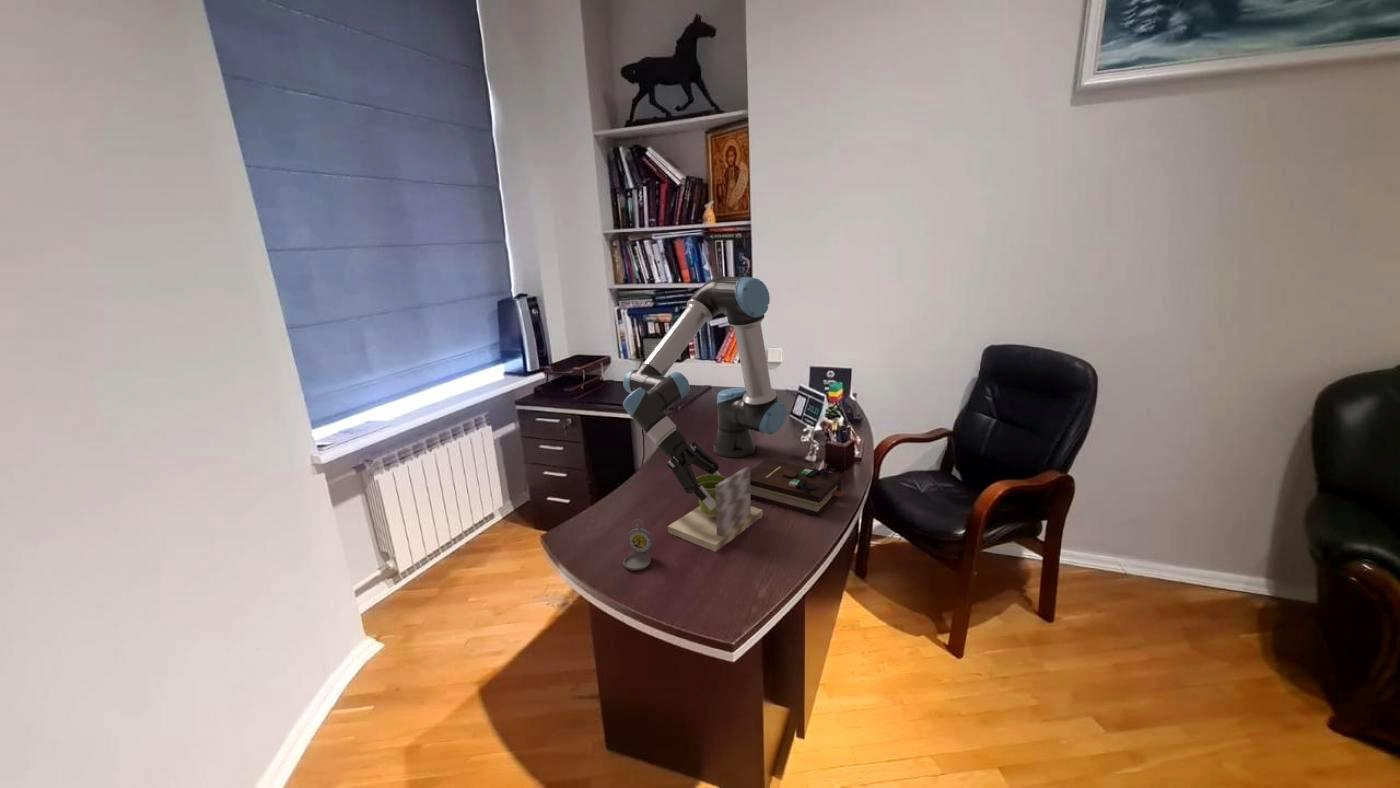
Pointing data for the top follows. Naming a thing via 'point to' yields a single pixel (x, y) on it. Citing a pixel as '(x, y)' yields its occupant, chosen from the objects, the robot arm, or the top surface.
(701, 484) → the plant pot
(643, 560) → the pocket watch
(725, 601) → the top surface
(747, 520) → the shelf board
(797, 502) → the decorative book
